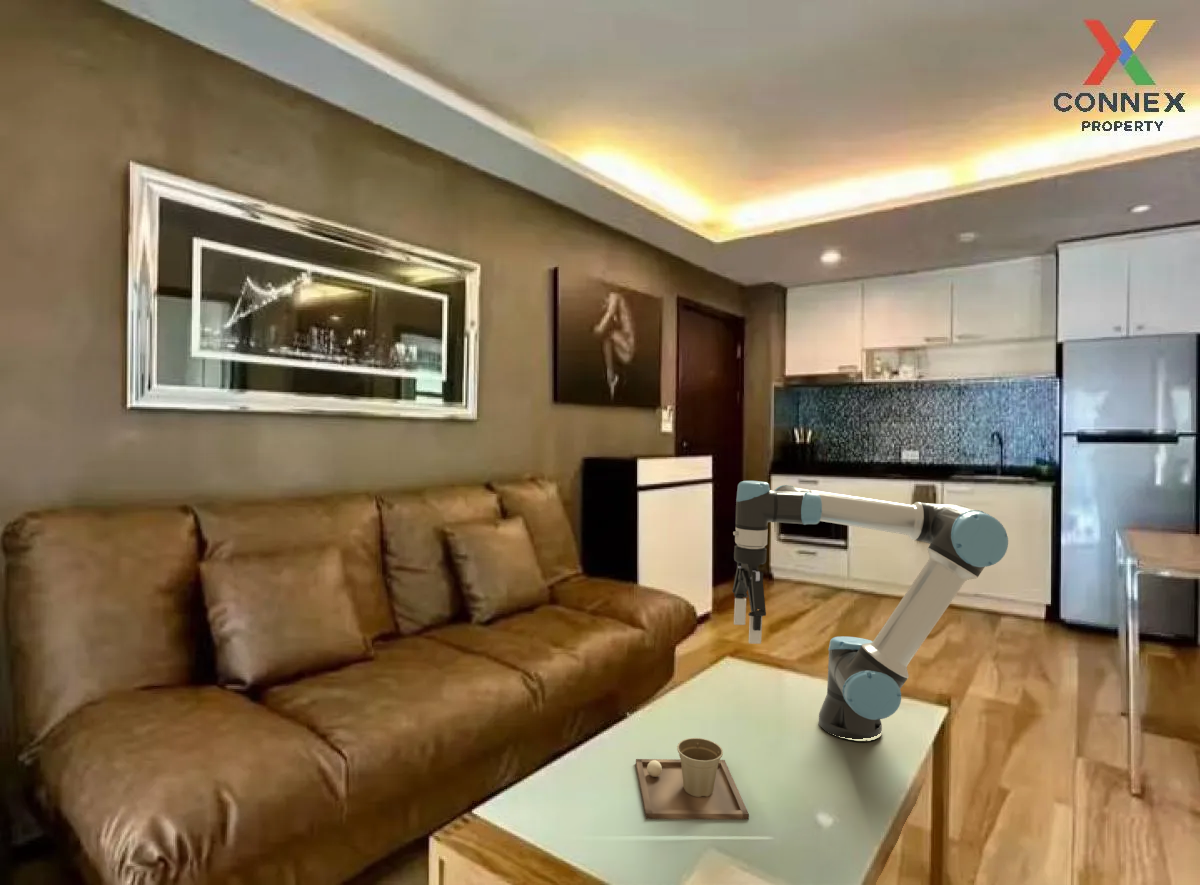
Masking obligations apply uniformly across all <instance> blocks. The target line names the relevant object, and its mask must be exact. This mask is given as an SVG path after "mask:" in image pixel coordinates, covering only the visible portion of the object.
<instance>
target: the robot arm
mask: <svg viewBox="0 0 1200 885" xmlns="http://www.w3.org/2000/svg"><path fill="white" fill-rule="evenodd" d="M735 500H736V501H735V502H736V503H735V504H736V505H735V531H733V532H732V534H733V536H734V542H735V545H734V550H733V551H734V552H733V559H734V561H735V562H736V571H735V577H734V580H733V581H734V582H733V585H732V593H733V596H734V610H733V613H734V614H733V625H735V626H745V625H746V619H747V617H746V615H747V614H746V613H747V599H749V600H748V601H749V606H750V611H749V613H748V616H749V623H748V624H749V625H748V644H755V645H757V644H758V645H761V644H762V635H763V634H762V631H763V617H766V615H767V610H766V600H765V590H764V589H765V588H764V573H763V571H759V566H760V565H764V564H766V562H767V547H766V546H767V545H768V535H769V533H768V530H769V529H768V525H769V524H768V523H783V524H798V525H804V526H806V525H818V524H819V523H820V522H825V523H830V524H831V523H832V524H836V525H843V526H849V527H856V528H860V529H861V528H862V529H867V530H868V529H869V530H874V531H875V530H876V531H881V532H884V533H885V532H886V533H892V534H893V533H894V534H900V535H905V536H908V537H909V539H910V540H911V541H917V542H923V543H926V544H928V545H929V546H928V547H927V553H928V555H929V556H928V558H929V559H928V560H927V562H926V563H925V564H924V566H923V567H922V569H921V570H920V572H919V574H918V575H917V577H916V578H915V580H914V581H913V582H912V584H911V585H910V587H909V588H908V590H907V591H906V593H905V594H904V595H903V597H902V598H901V600H900V601H899V603H898V605H897V606H896V607H895V609H894V610H893V611H892V613H891V615H890V616H889V617H888V619H887V620H886V622H885V624H884V625H883V626H882V628H881V629H880V631H879V632H878V633H877V635H876V637H875V638H874V640H870V639H867V638H862V637H855V636H843V635H842V636H834V637H832V638H831V639H830V641H829V646H828V665H827V683H826V685H827V690H826V691H827V692H826V696H825V697H824V700H823V702H822V705H821V707H820V710H819V713H818V726H819V727H820V726H821V727H822V728H823V729H824V730H825V731H824V730H823V729H822V728H821V727H820V728H821V729H822V730H823V731H824V732H826V731H827V732H829V733H831V734H834V735H836V736H840V737H845V738H852V739H863V738H871V737H874V736H877V735H878V734H880V733H881V731H882V732H883V727H882V725H883V724H882V721H881V720H885V719H887V718H889V717H891V716H893V715H894V714H895V713H896V712H897V711H898V709H899V708H900V705H901V702H902V692H901V689H902V687H903V686H904V684H905V683H906V681H907V680H908V679H909V672H908V665H909V664H910V662H911V661H912V659H913V658H914V656H916V654H917V652H918V650H919V649H920V648H921V647H922V645H923V644H924V642H925V640H926V639H927V637H928V636H929V635H930V633H931V632H932V630H933V629H934V627H935V626H936V624H937V623H938V622H939V620H940V619H941V618H942V616H943V614H944V613H945V611H946V610H947V609H948V608H949V606H950V605H951V603H952V601H953V600H954V598H955V597H956V596H957V594H958V593H959V592H960V590H961V589H962V587H963V586H964V584H965V583H966V582H967V581H968V580H975V579H977V578H978V577H979V576H980V575H981V573H982V572H983V570H984V569H985V568H986V567H987V568H988V567H991V566H994V565H995V564H998V563H999V562H1000V561H1001V560H1002V559H1003V558H1004V557H1005V555H1006V553H1007V551H1008V547H1009V537H1008V533H1007V530H1006V528H1005V527H1004V525H1003V524H1002V523H1001V521H999V520H998V519H997V518H995V517H994V516H992V515H990V514H989V513H986V512H984V511H983V510H978V509H973V508H969V507H967V506H963V505H959V504H944V503H941V504H940V503H929V502H927V503H926V502H920V501H915V502H914V503H913V504H906V503H902V502H900V503H899V502H893V501H887V500H880V499H873V498H867V497H861V496H853V495H848V494H841V493H834V492H827V491H821V490H815V489H806V488H802V487H801V488H800V487H795V486H793V485H787V484H784V485H779V486H778V487H776V488H775V489H774V490H772V489H771V487H770V483H768V481H761V480H760V481H758V480H743V481H740V482H739V483H738V484H737V491H736V499H735ZM827 732H826V733H827ZM829 733H828V734H829ZM831 734H830V735H831Z"/></svg>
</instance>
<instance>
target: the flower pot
mask: <svg viewBox="0 0 1200 885" xmlns="http://www.w3.org/2000/svg"><path fill="white" fill-rule="evenodd" d="M676 747H677V748H676V750H677V753H678V755H679V758H680V759H681V766H682V776H683V787H684V789H685V791H686V792H687V793H688V794H690V795H692V796H695V797H701V796H706V797H707V796H709V795H711V794H712V793H713V790H714V784H715V778H716V773H717V768H718V763H719V762H720V760H721V758H722V757H723V754H724V751H723V748H722V747H721V746H720V745H719V744H718V743H716V742H714V741H713V740H709V739H706V738H700V737H690V738H686V739H682V740H681V741H679V743H678V744H677V746H676Z"/></svg>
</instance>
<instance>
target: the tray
mask: <svg viewBox="0 0 1200 885" xmlns="http://www.w3.org/2000/svg"><path fill="white" fill-rule="evenodd" d="M653 760H656V761H658V762H659V763H660V764H661V766H662V772H661V774H660V775H659V776H657V777H652V776H651V775H649V773H648V771H647V766H648V763H649V762H650V761H653ZM635 767H636V773H637V778H638V783H639V788H640V794H641V801H642V804H643V810H644V814H645V815H644V816H645V819H646V820H647V819H649V820H652V819H653V820H657V819H658V820H659V819H660V820H749V818H750V814H749V811H748V809H747V807H746V805H745V802H744V800H743V797H742V795H741V793H740V791H739V789H738V787H737V785H736V783H735V781H734V778H733V776H732V774H731V773H732V772H731V771H730V769H729V766H728V765H727V762H726V760H725V759H720V762H719V763H718V768H717V773H716V778H715V784H714V790H713V793H712V794H711V795H709V796H707V797H706V796H701V797H695V796H692V795H690V794H688V793H687V792H686V791H685V789H684V787H683V776H682V766H681V758H680V759H677V758H676V759H675V758H674V759H672V758H671V759H669V758H668V759H667V758H663V759H662V758H659V759H657V758H654V759H653V758H648V759H647V758H636V759H635Z"/></svg>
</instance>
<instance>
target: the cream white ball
mask: <svg viewBox="0 0 1200 885" xmlns="http://www.w3.org/2000/svg"><path fill="white" fill-rule="evenodd" d="M647 771H648V773H649V775H651V776H652V777H657V776H659V775H660V774H661V772H662V766H661V764H660V763H659V762H658V761H656V760H653V761H650V762H649V763H648V766H647Z"/></svg>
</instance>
